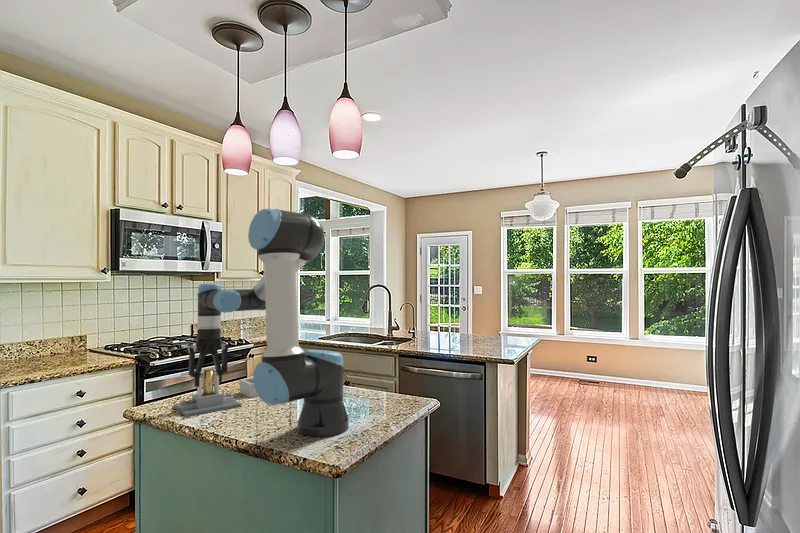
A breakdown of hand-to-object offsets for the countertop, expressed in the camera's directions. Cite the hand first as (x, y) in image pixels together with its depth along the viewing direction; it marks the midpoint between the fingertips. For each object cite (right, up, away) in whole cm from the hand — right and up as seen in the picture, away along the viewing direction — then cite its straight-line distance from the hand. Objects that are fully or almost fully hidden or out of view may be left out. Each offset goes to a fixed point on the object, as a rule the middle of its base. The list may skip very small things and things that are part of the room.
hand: (208, 394), depth 149 cm
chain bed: (0, -4, 0) cm, 4 cm away
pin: (0, -3, 0) cm, 3 cm away
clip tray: (+14, -5, +22) cm, 26 cm away
